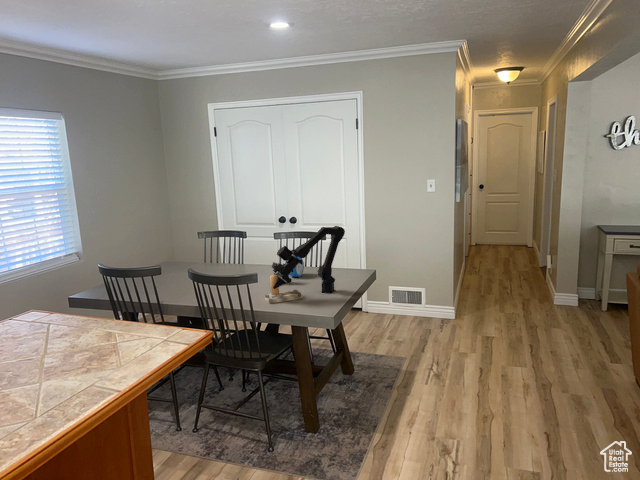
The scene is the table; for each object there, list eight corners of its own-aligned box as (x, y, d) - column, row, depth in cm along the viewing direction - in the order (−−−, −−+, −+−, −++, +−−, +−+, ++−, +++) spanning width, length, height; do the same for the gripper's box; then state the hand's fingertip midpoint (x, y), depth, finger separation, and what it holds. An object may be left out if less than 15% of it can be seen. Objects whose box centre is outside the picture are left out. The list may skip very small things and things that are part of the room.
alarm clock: (296, 279, 304) (295, 256, 302) (287, 278, 307) (286, 256, 304) (304, 274, 316) (303, 252, 313) (296, 273, 318) (295, 252, 316)
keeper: (279, 295, 265) (277, 274, 263) (282, 298, 260) (280, 276, 258) (268, 296, 263) (267, 275, 261) (271, 299, 258) (270, 277, 256)
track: (297, 294, 271) (297, 289, 270) (302, 298, 263) (302, 293, 262) (265, 299, 264) (264, 294, 264) (269, 303, 256) (268, 298, 255)
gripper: (275, 254, 267) (257, 275, 266) (284, 260, 250) (266, 282, 248) (289, 265, 272) (272, 286, 270) (299, 272, 254) (281, 294, 253)
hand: (272, 287), depth 260 cm, fingers closed on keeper, 4 cm apart
